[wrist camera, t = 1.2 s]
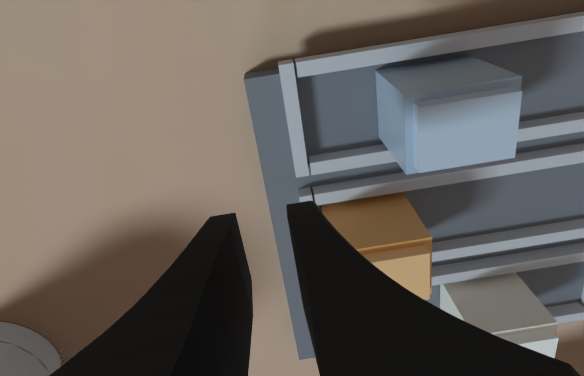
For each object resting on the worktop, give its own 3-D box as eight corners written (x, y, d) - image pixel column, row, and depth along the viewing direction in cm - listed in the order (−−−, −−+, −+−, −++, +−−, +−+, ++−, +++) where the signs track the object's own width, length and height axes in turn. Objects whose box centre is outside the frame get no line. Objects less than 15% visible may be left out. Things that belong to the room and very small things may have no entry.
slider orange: (403, 241, 22) (436, 303, 18) (327, 253, 22) (343, 318, 18) (402, 191, 20) (437, 245, 16) (320, 204, 20) (336, 262, 16)
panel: (597, 296, 26) (621, 319, 25) (297, 344, 26) (300, 370, 25) (674, -9, 18) (719, -7, 16) (242, 61, 18) (240, 71, 17)
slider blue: (466, 122, 19) (522, 164, 15) (378, 137, 19) (411, 182, 15) (469, 55, 18) (532, 80, 14) (375, 70, 18) (410, 100, 14)
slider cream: (507, 309, 25) (556, 376, 20) (439, 319, 25) (475, 389, 21) (512, 268, 23) (566, 332, 19) (440, 280, 23) (479, 346, 19)
